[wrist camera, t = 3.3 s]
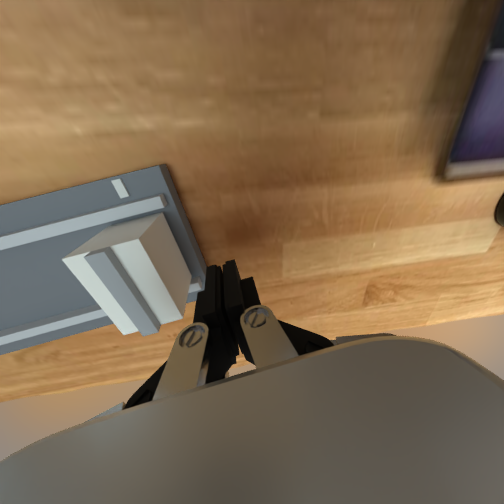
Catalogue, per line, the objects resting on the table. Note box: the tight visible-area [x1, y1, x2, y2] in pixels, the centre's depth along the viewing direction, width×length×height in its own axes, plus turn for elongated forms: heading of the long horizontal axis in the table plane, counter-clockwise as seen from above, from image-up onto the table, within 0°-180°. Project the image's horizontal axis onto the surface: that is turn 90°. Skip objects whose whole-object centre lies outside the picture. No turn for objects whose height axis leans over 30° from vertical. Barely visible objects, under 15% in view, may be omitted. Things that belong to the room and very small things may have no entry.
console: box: [0, 164, 207, 355], centre depth 16 cm, size 26×12×3 cm, turn 103°
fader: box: [62, 212, 192, 336], centre depth 13 cm, size 4×6×6 cm, turn 13°
